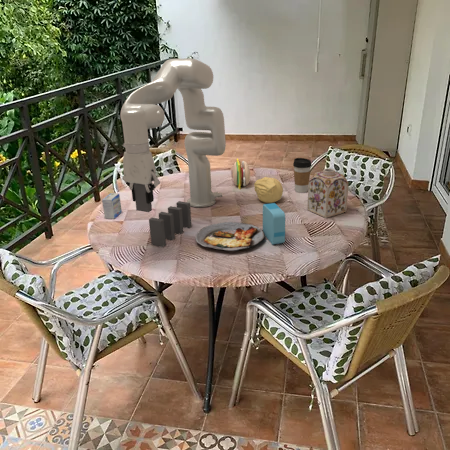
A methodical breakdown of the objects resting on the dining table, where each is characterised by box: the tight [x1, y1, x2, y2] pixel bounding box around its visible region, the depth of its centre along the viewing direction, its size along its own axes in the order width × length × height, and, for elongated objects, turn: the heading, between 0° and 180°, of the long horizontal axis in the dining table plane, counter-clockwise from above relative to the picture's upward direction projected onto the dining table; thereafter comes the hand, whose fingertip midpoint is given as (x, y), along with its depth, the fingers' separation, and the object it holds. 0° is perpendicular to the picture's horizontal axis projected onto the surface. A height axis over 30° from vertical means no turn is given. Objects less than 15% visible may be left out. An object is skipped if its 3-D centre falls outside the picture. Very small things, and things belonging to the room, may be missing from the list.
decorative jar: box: [307, 168, 349, 219], centre depth 185 cm, size 12×12×18 cm
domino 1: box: [133, 183, 153, 213], centre depth 151 cm, size 2×5×10 cm, turn 63°
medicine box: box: [101, 192, 123, 220], centre depth 190 cm, size 8×4×9 cm, turn 168°
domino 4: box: [167, 206, 184, 235], centre depth 172 cm, size 2×5×10 cm, turn 63°
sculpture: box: [253, 176, 284, 204], centre depth 200 cm, size 12×12×11 cm
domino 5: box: [175, 200, 192, 229], centre depth 176 cm, size 2×5×10 cm, turn 63°
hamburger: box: [232, 158, 251, 190], centre depth 220 cm, size 12×8×12 cm
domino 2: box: [148, 217, 167, 248], centre depth 162 cm, size 2×5×10 cm, turn 63°
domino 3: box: [158, 211, 176, 241], centre depth 167 cm, size 2×5×10 cm, turn 63°
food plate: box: [195, 221, 266, 252], centre depth 166 cm, size 25×23×4 cm
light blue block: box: [262, 202, 286, 245], centre depth 163 cm, size 12×4×12 cm, turn 14°
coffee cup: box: [292, 157, 312, 194], centre depth 209 cm, size 8×8×15 cm
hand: (143, 200), depth 151 cm, fingers closed on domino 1, 4 cm apart
